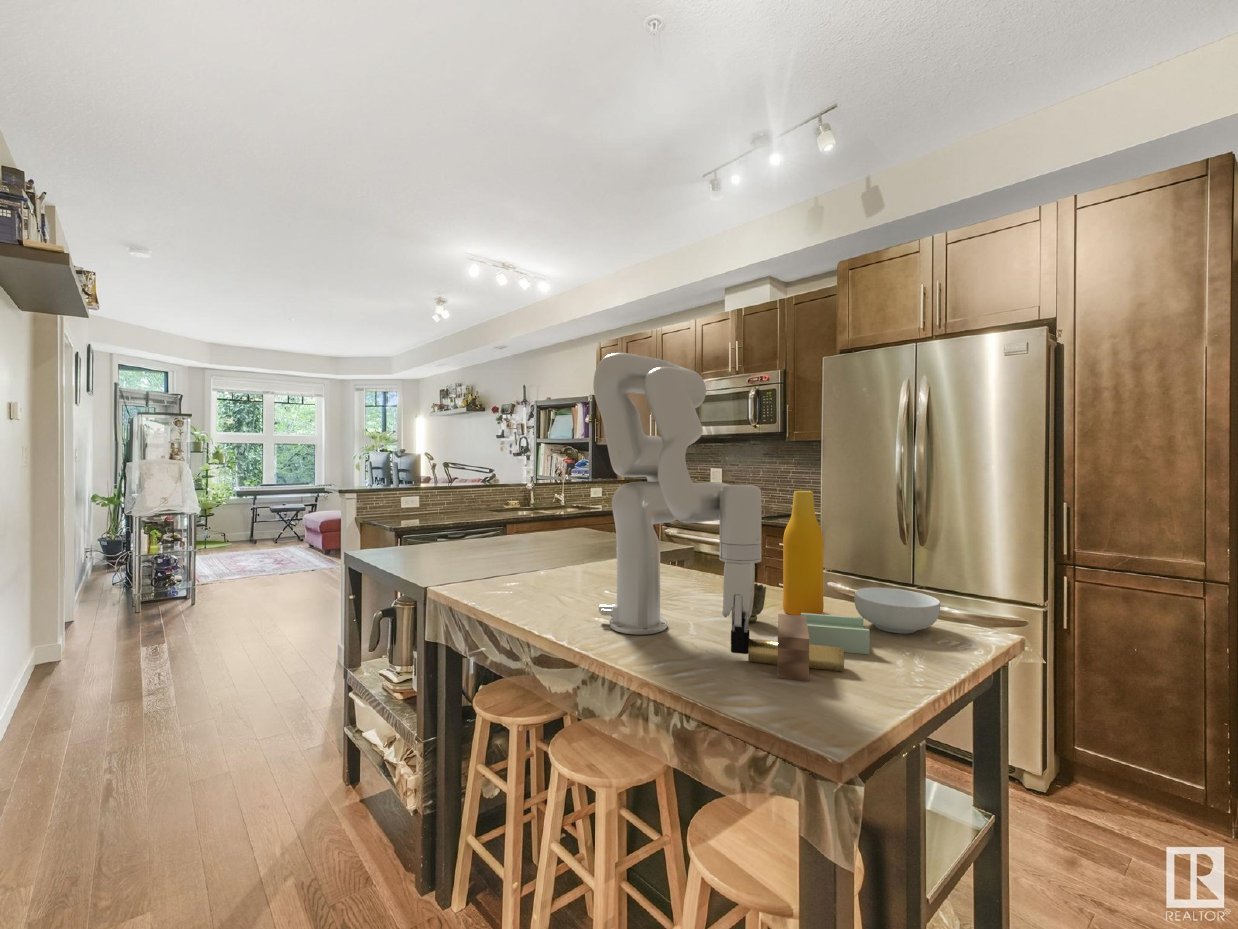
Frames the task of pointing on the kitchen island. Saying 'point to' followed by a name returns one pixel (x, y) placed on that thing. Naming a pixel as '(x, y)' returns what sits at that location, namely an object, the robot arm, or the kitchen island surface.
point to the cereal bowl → (897, 609)
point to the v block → (838, 632)
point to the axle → (817, 654)
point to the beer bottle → (803, 559)
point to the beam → (793, 647)
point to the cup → (757, 602)
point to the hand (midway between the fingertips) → (740, 651)
